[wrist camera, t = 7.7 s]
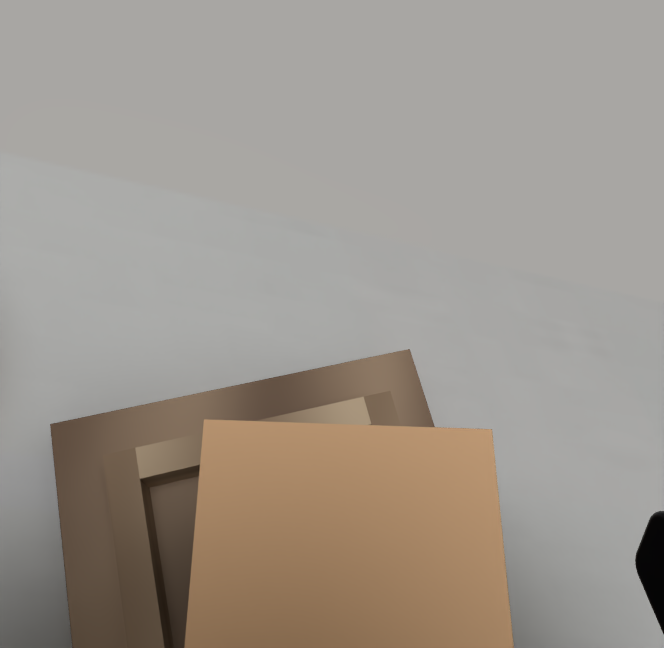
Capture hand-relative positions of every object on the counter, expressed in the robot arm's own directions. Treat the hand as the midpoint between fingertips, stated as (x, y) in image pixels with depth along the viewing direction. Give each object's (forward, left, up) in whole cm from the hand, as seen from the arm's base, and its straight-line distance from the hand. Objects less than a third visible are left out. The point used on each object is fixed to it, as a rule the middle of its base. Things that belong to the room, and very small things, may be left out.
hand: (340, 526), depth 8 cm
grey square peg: (-1, 0, -9) cm, 9 cm away
